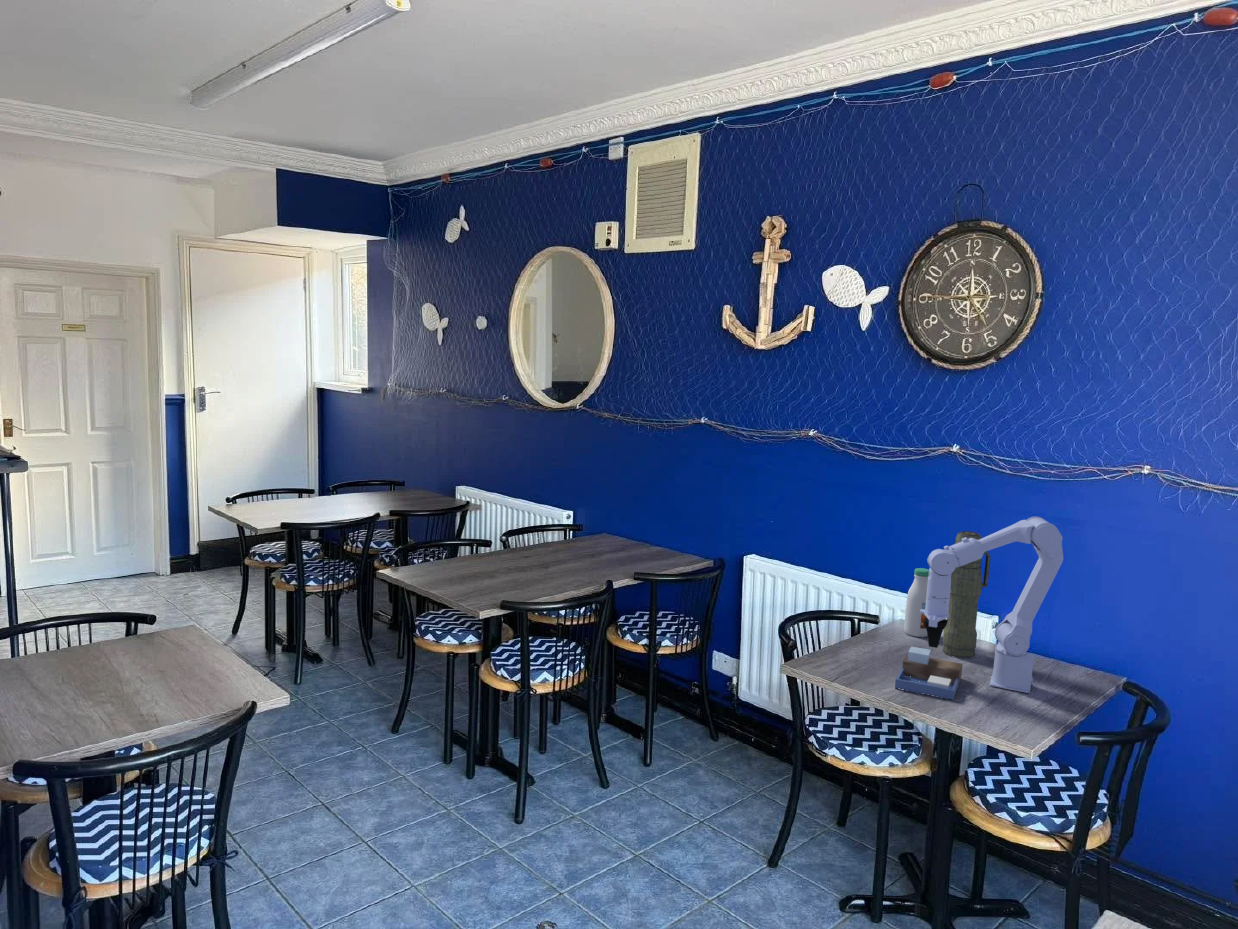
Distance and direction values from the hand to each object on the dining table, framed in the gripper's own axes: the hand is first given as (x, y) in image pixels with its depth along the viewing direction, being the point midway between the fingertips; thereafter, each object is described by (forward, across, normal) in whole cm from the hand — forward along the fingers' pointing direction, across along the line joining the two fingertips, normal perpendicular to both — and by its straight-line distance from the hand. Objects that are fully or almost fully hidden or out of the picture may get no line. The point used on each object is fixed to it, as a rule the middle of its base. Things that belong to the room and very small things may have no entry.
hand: (933, 646), depth 232 cm
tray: (+8, +8, 0) cm, 12 cm away
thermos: (+9, -25, +5) cm, 27 cm away
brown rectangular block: (+8, 0, 0) cm, 8 cm away
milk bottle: (+9, -37, -8) cm, 39 cm away
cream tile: (+6, +9, +3) cm, 11 cm away
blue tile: (+4, 0, -3) cm, 6 cm away
